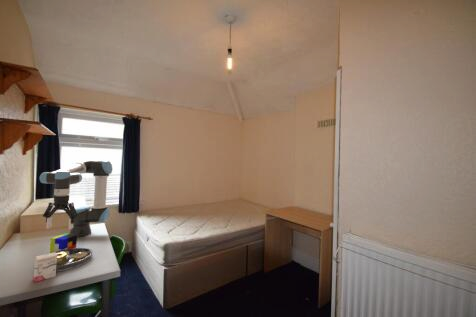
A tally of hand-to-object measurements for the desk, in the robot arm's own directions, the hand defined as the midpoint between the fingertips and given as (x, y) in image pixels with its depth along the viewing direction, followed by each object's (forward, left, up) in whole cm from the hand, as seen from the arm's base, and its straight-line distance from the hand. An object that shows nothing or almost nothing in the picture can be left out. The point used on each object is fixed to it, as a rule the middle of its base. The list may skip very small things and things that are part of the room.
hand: (59, 228), depth 131 cm
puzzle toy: (-14, -8, -21) cm, 26 cm away
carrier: (+2, +7, -20) cm, 21 cm away
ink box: (+20, +10, -21) cm, 30 cm away
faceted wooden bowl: (+8, +7, -19) cm, 22 cm away
